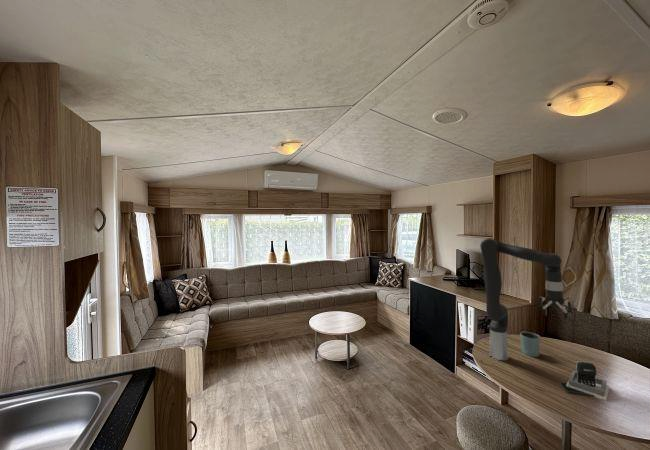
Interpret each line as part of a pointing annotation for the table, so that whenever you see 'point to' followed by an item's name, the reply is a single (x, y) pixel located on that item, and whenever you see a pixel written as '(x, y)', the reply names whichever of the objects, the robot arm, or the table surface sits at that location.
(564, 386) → the phone
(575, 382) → the frame
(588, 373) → the battery charger
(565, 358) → the table surface
